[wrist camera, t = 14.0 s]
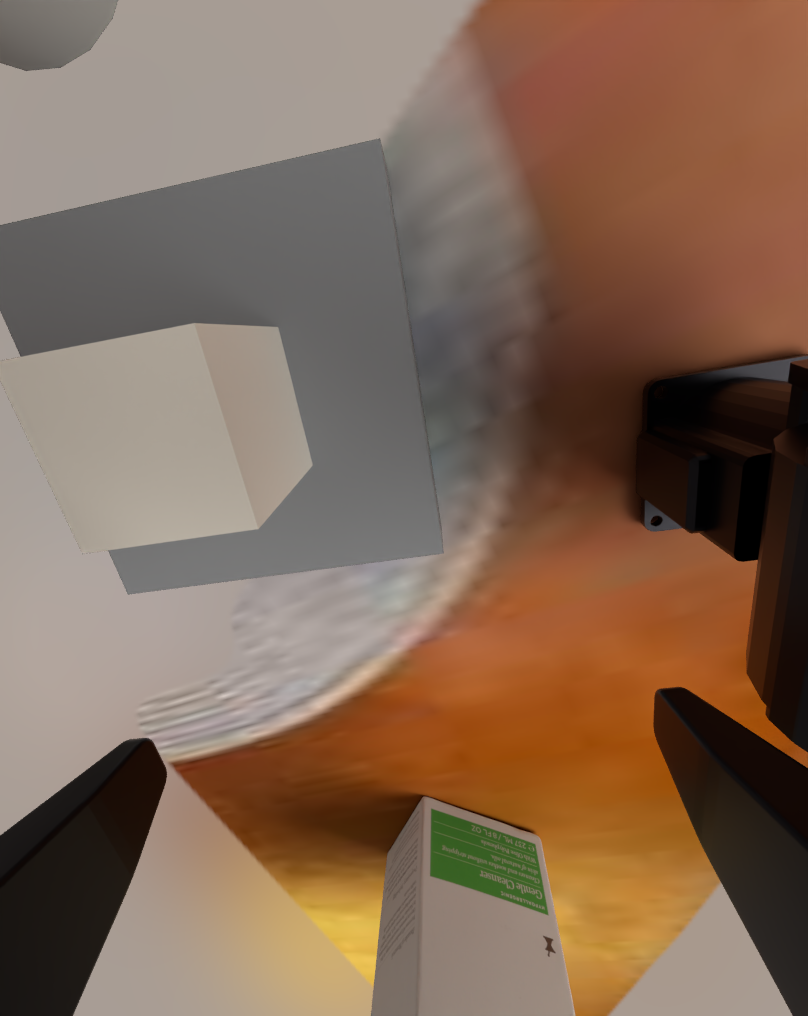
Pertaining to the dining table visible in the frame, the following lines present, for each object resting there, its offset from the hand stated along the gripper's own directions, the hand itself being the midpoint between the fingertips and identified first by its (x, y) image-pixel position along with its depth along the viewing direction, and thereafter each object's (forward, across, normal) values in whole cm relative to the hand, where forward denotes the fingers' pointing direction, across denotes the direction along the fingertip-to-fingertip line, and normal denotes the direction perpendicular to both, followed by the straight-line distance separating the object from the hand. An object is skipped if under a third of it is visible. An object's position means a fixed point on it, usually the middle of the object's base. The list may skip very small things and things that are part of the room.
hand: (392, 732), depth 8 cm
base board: (+13, +6, -5) cm, 15 cm away
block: (+10, +6, -5) cm, 13 cm away
